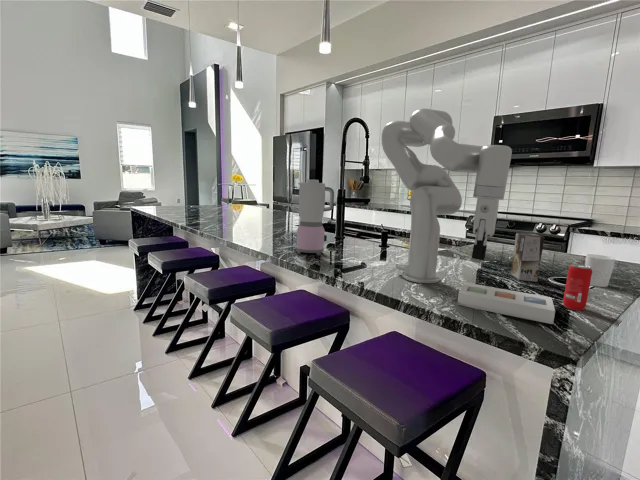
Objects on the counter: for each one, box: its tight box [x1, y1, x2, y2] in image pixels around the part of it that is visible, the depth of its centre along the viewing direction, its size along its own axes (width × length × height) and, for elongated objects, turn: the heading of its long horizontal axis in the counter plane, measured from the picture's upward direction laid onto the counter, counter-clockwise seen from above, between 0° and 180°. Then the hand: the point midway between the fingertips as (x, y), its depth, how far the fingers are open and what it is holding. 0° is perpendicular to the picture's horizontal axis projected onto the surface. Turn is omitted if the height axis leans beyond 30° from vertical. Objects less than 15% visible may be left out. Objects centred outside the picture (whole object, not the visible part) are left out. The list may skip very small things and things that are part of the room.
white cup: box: [584, 253, 616, 288], centre depth 120 cm, size 8×8×10 cm
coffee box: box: [510, 232, 545, 283], centre depth 124 cm, size 9×6×16 cm
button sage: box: [469, 287, 485, 294], centre depth 97 cm, size 4×4×3 cm
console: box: [456, 282, 556, 325], centre depth 94 cm, size 22×12×3 cm, turn 60°
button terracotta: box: [497, 292, 513, 299], centre depth 94 cm, size 4×4×3 cm
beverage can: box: [562, 263, 592, 312], centre depth 95 cm, size 5×5×12 cm
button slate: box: [526, 297, 544, 305], centre depth 90 cm, size 4×4×3 cm
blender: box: [295, 178, 335, 256], centre depth 150 cm, size 16×12×32 cm
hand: (478, 258), depth 96 cm, fingers closed
